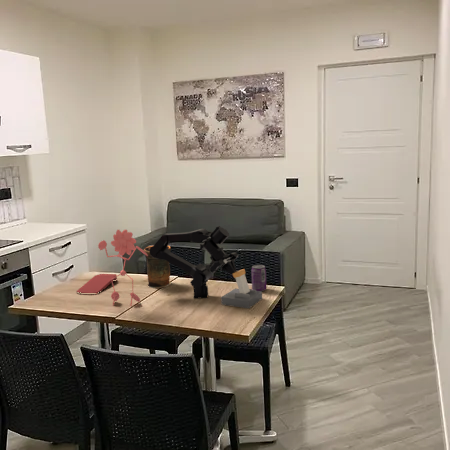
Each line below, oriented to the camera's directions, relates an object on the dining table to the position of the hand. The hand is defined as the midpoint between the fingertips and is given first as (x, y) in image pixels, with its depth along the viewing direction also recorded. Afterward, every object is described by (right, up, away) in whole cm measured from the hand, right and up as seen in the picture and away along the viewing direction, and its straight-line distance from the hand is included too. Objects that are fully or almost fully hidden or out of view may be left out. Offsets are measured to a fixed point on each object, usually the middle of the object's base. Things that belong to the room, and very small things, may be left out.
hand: (236, 275), depth 222 cm
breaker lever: (+4, -8, -1) cm, 9 cm away
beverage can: (+12, -9, +17) cm, 22 cm away
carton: (-72, -10, +34) cm, 80 cm away
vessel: (-40, -8, +34) cm, 53 cm away
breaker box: (+3, -12, +1) cm, 12 cm away
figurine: (-51, -13, +8) cm, 53 cm away
